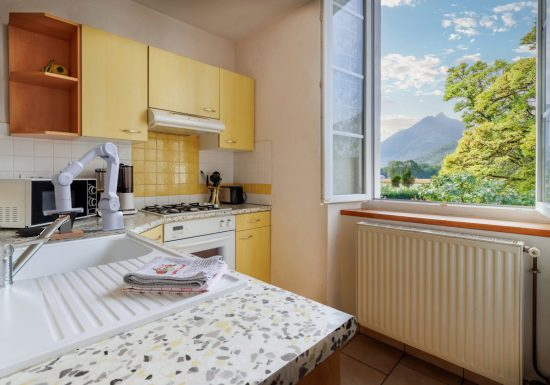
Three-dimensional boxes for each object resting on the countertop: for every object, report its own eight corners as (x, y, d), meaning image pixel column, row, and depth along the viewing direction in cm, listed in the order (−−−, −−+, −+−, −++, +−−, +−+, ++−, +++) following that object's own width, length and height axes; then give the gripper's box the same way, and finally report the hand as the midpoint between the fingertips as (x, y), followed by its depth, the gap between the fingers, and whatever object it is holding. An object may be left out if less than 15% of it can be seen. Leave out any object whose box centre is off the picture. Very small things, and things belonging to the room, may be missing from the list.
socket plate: (77, 233, 144) (77, 229, 144) (83, 236, 135) (83, 231, 135) (46, 237, 135) (46, 232, 135) (51, 240, 126) (50, 236, 126)
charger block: (69, 232, 137) (68, 217, 137) (71, 234, 134) (70, 218, 133) (59, 234, 135) (57, 218, 134) (61, 235, 131) (60, 219, 131)
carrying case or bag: (20, 231, 134) (13, 229, 143) (20, 238, 134) (13, 235, 143) (49, 228, 142) (40, 226, 151) (49, 234, 142) (40, 231, 151)
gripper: (80, 198, 141) (81, 226, 142) (41, 200, 131) (43, 231, 132) (83, 198, 136) (85, 227, 137) (44, 201, 126) (46, 232, 127)
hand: (65, 229), depth 134 cm, fingers closed on charger block, 4 cm apart
